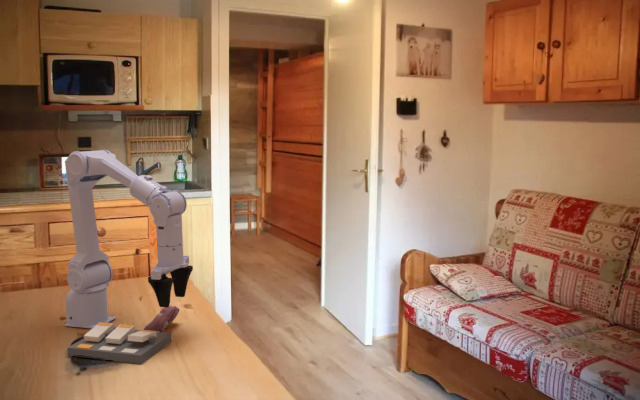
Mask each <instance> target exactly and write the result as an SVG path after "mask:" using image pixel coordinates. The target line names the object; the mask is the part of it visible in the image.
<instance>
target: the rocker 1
mask: <svg viewBox="0 0 640 400" xmlns="http://www.w3.org/2000/svg"><path fill="white" fill-rule="evenodd" d="M114 328H115V327H114V323H112V322H109V323H104V322H99V323H98V324H97V325H96V326H95V327H93V328H90V329H89V330H90V331H89V330H88V331H89V332H88V331H87V332H88V333H87V332H86V333H85V334H84V335H83V338H84V340H85V341H95V342H99V341H100V340H101V339H102V338H104V337H105V336H106V335H105V334H106V333H107V332H110V331H111V330H112V329H114Z"/></svg>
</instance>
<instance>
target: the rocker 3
mask: <svg viewBox="0 0 640 400" xmlns="http://www.w3.org/2000/svg"><path fill="white" fill-rule="evenodd" d="M157 332H158V331H150V330H143V329H141V331H138V332H136V333H133V334H130V335H128V340H127V341H136V342H144V341H147V340H149V338H150V337H151V336H155V337H157Z"/></svg>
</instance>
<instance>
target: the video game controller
mask: <svg viewBox="0 0 640 400" xmlns="http://www.w3.org/2000/svg"><path fill="white" fill-rule="evenodd" d="M179 312H180V308H178V307H177V306H176V305H172V304H170V305H169V307H161V309H160V311H159V313H158V314H156V315H155V316H154V318H153V320H152V321H150V322H149V323H148V324H146V325H145V327H144V328H143V329H142V330H150V331H157V332H165V330H166V328H167V329H168V328H170V327H171V326H172V323H173V321H174V320H175V319H176V318H177V316H178V315H179Z"/></svg>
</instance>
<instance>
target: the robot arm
mask: <svg viewBox="0 0 640 400" xmlns="http://www.w3.org/2000/svg"><path fill="white" fill-rule="evenodd" d="M64 166H65V172H66V181H67V182H66V183H67V189H68V198H69V205H70V213H71V214H70V215H71V219H72V229H73V236H74V242H75V249H76V250H75V251H76V252H75V254H74V255H73V256H72V258H71V259H69V261H68V262H67V267H68V272H67V275H66V278H67V280H66V281H67V283H68V286H69V287H70V290H69V291H68V292H67V294H66V297H65V311H66V312H65V313H66V323H65V324H64V326H65V327H73V328H83V329H92V328H93V327H95V326H96V325H97V324H98V323H99V322H104V323H112V321H114V320H115V319H116V316H111V315H109V311H108V310H109V308H108V307H109V306H108V305H109V304H108V291H107V287H109V283H110V282H111V281H112V279H113V275H114V274H113V273H114V271H113V267H112V266H111V264H110V261H109V255H108V254H107V253H105V252H103V251H102V250H101V249H100V242H99V236H98V235H99V234H98V228H97V227H98V226H97V220H96V217H97V216H96V211H95V202H94V201H95V200H94V195H93V188H95V185H96V184H97V183H98V182H99V181H101V180H103V179H104V178H106V177H107V176H108V177H109V178H111V179H113V180H114V181H117V182H118V183H120V184H122V185H123V186H125V187H126V188H129V193H130V195H131V196H132V197H133V198H135V199H136V200H138V201H139V202H141V204H143V205H145V206H146V207H148V209H149V212H150V214H151V216H152V217H153V223H154V224H155V227H156V228H155V230H156V248H157V250H156V252H157V263H156V265H155V266H154V267H153V269H152V270H150V275H149V276H148V277H147V282H148V284H149V285H150V286H151V288H152V289H153V291H154V294H155V296H156V300H157V303H158V306H159V307H160V308H164V307H169V306H170V305H171V292H172V287H173V293H174V297H176V298H178V297H179V298H185V296H186V292H187V288H188V287H187V285H188V281H189V279H190V276H191V274H192V271H193V270H194V269H193V265H189V264H190V255H184V240H183V220H182V219H183V218H182V217H183V216H182V215H183V214H184V213H185V211H186V209H187V199H186V197H185V195H184V194H183V193H182V192H181V191H180V190H178V189H174V190H170V189H168V187H167V186H165V185H162V184H160V183H159V182H157V181H155V180H154V177H153V176H152V175H149V174H147V175H146V174H141V175H138V174H136V173H135V172H134V171H133V170H131V169H130V168H129V167H127V166H126V165H125V164H124V163H122V162H121V161H120V160H119V159H117V156H116V154H114V153H112V152H111V151H109V150H107V149H101V150H100V149H99V150H98V149H97V150H86V151H78V150H75V151H72V152H71V153H69V155H68V156H67V158H66V160H65V161H64ZM167 274H170V276H171V277H168V275H167Z"/></svg>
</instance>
